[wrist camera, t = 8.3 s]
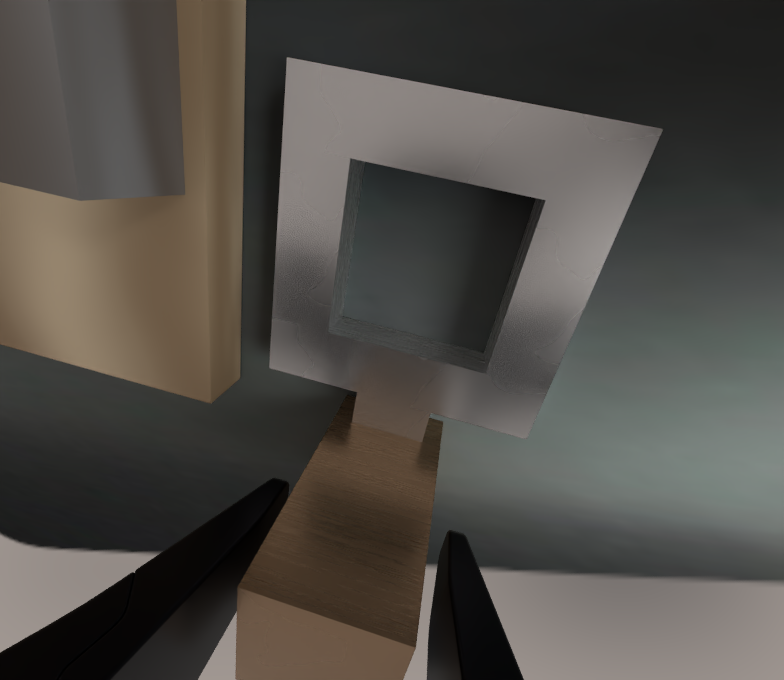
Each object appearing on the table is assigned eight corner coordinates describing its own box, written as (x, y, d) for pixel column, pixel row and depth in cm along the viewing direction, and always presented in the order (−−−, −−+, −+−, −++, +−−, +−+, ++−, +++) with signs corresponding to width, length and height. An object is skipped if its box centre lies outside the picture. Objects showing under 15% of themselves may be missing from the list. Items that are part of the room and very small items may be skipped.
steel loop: (636, 135, 8) (1024, 41, 2) (480, 510, 12) (485, 770, 7) (310, 72, 8) (13, -116, 3) (280, 450, 13) (144, 645, 8)
